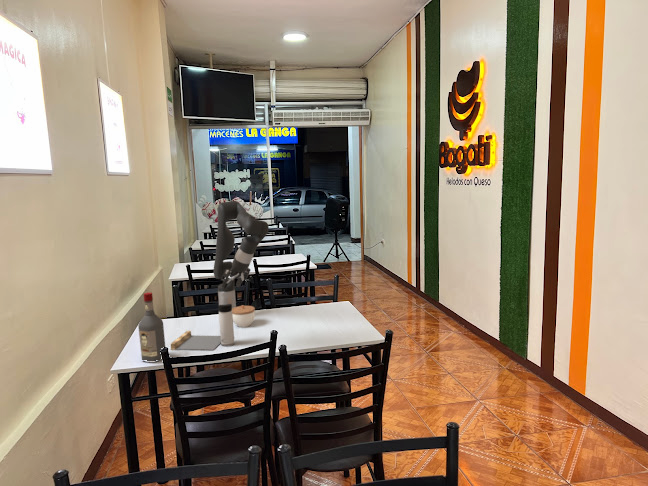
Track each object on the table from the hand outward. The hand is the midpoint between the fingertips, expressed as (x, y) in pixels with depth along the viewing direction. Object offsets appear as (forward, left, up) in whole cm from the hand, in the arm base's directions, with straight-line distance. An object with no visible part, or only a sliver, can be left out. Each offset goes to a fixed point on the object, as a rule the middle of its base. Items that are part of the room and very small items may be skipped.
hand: (230, 287), depth 206 cm
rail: (-3, -28, -29) cm, 40 cm away
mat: (-3, -18, -29) cm, 34 cm away
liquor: (+16, -32, -29) cm, 46 cm away
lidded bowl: (-30, -5, -29) cm, 42 cm away
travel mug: (-2, -4, -29) cm, 29 cm away
